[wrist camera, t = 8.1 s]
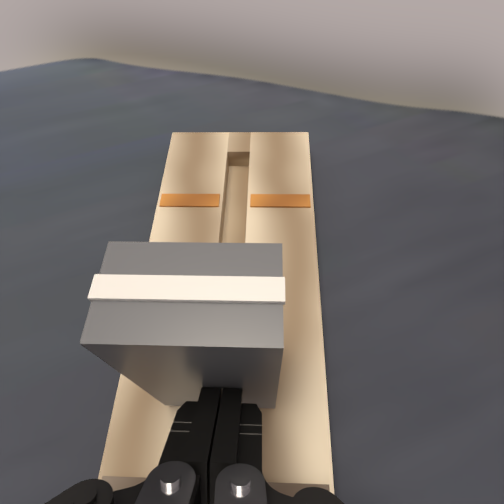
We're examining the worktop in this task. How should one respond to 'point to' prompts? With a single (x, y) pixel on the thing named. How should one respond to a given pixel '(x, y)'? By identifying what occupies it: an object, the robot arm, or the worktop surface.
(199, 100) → the worktop surface
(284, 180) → the fader board
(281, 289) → the fader knob
